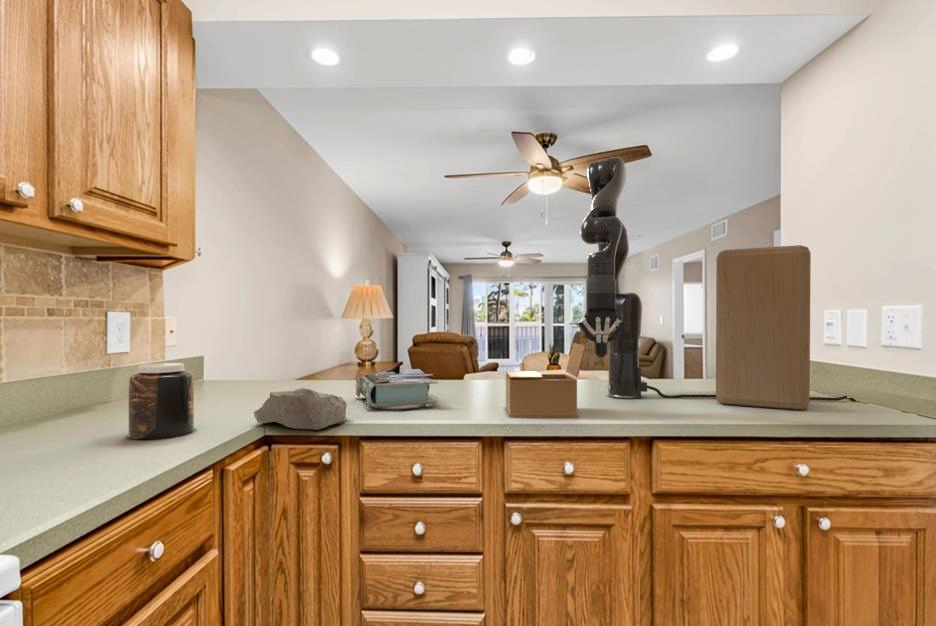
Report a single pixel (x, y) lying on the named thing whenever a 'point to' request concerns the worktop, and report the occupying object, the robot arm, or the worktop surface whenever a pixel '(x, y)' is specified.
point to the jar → (161, 401)
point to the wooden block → (763, 327)
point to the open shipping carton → (540, 394)
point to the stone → (302, 409)
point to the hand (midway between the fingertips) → (600, 357)
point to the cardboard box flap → (575, 359)
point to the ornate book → (396, 389)
